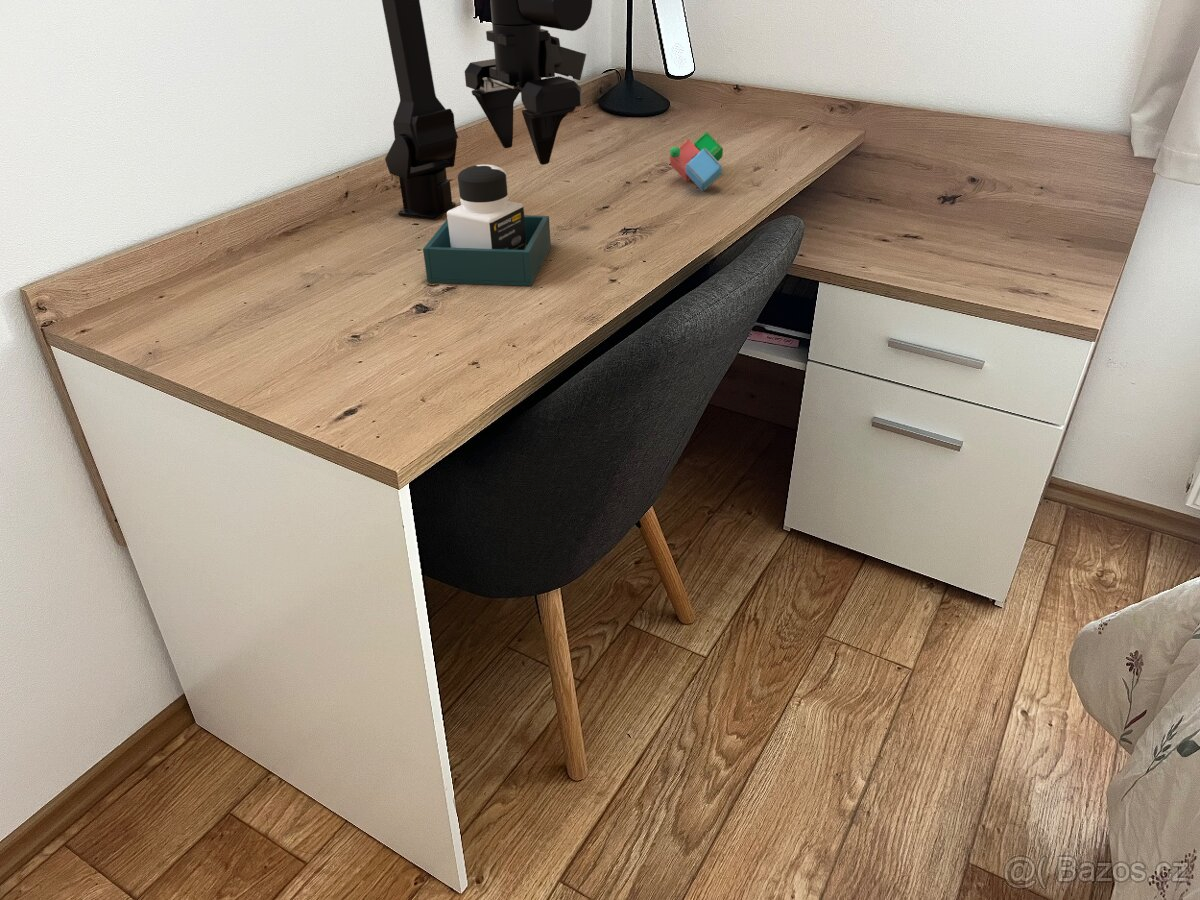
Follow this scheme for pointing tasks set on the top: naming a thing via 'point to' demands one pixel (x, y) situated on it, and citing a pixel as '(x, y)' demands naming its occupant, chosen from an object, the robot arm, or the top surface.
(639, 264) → the top surface
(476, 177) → the medicine bottle
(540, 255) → the desk bin
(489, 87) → the robot arm
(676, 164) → the building blocks
